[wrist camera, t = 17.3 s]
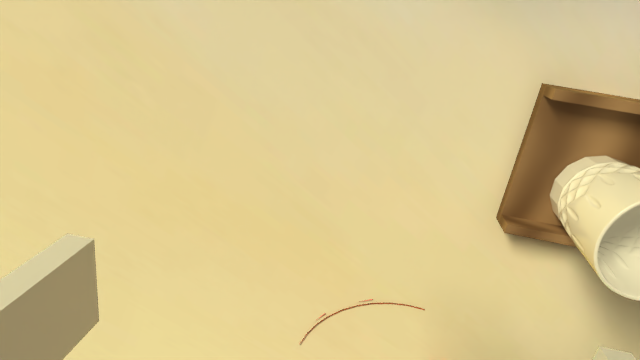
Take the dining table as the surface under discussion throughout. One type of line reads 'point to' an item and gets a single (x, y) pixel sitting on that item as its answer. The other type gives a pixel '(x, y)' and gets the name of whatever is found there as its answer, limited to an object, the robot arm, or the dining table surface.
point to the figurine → (364, 304)
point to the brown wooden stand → (564, 153)
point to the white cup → (603, 218)
